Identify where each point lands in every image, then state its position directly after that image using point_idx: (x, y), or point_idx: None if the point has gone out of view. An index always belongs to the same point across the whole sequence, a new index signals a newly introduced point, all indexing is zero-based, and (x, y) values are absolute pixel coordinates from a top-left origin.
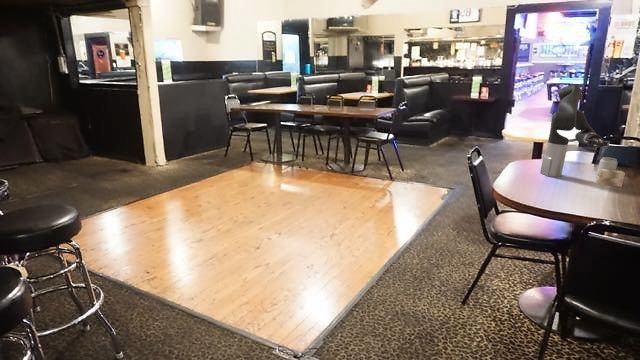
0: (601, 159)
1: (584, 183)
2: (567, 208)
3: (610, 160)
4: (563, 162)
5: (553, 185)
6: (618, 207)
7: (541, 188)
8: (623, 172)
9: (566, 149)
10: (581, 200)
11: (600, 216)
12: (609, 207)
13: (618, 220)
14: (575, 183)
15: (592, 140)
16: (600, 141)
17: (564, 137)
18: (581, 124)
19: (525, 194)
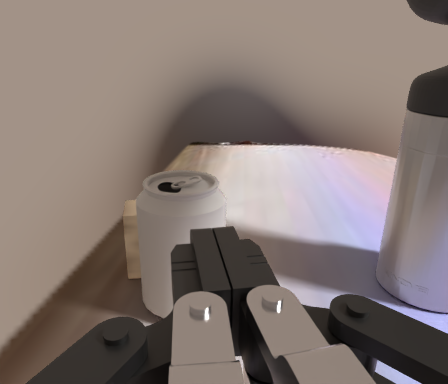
0: (220, 193)
1: (268, 244)
2: (280, 151)
3: (182, 173)
4: (388, 206)
5: (346, 205)
6: (196, 166)
7: (359, 186)
8: (128, 204)
9: (401, 138)
10: (262, 169)
11: (231, 147)
12: (213, 164)
13: (208, 146)
14: (296, 234)
15: (401, 347)
16: (213, 328)
17: (440, 69)
18: None
19: (364, 164)
